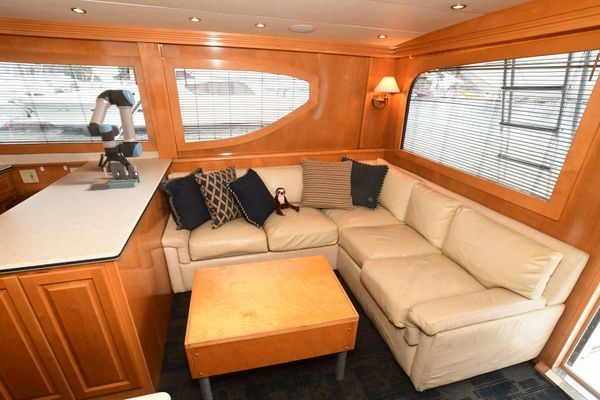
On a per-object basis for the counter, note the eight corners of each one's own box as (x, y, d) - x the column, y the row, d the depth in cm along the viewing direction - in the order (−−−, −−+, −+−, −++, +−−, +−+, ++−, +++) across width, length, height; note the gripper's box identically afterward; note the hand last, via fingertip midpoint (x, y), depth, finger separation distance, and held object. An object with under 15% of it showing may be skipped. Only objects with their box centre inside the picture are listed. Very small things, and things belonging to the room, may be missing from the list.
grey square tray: (98, 185, 196) (96, 181, 195) (113, 184, 198) (112, 180, 197) (91, 190, 187) (90, 185, 186) (108, 189, 189) (106, 184, 188)
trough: (113, 185, 198) (112, 180, 196) (138, 183, 201) (137, 179, 200) (109, 188, 190) (108, 184, 189) (134, 187, 194) (133, 182, 193)
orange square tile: (98, 182, 194) (98, 181, 194) (109, 181, 196) (109, 180, 195) (94, 185, 188) (94, 184, 188) (105, 184, 189) (105, 183, 189)
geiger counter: (136, 161, 208) (106, 159, 210) (131, 163, 202) (99, 161, 204) (140, 178, 213) (110, 177, 215) (135, 180, 207) (104, 179, 209)
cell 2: (134, 181, 206) (132, 170, 202) (140, 181, 207) (138, 170, 203) (133, 183, 202) (130, 172, 199) (139, 182, 203) (136, 171, 200)
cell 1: (117, 181, 205) (114, 170, 202) (122, 181, 206) (120, 170, 203) (115, 183, 202) (112, 172, 199) (121, 182, 203) (118, 171, 200)
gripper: (87, 148, 188) (95, 177, 195) (127, 147, 193) (133, 175, 201) (92, 146, 195) (100, 175, 202) (131, 145, 200) (137, 173, 208)
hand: (117, 175), depth 202 cm, fingers open, 13 cm apart
